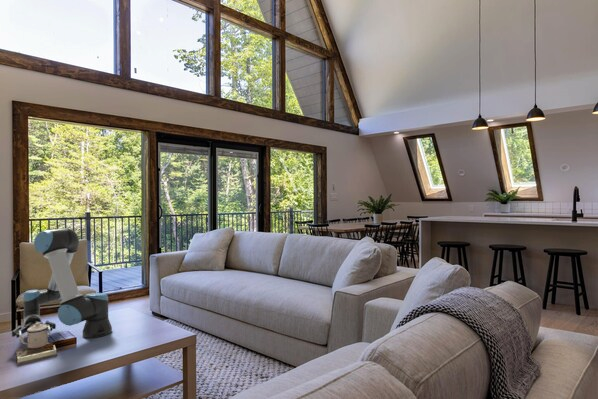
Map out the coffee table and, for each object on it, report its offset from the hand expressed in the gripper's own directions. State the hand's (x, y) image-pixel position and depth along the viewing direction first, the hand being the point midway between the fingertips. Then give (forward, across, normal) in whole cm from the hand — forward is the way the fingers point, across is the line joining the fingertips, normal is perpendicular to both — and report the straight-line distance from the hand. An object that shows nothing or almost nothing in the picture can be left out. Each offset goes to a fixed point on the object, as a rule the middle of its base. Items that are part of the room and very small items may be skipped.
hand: (35, 334), depth 192 cm
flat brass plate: (0, 0, -10) cm, 10 cm away
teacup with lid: (-4, 0, -7) cm, 8 cm away
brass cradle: (+6, 0, -9) cm, 11 cm away
